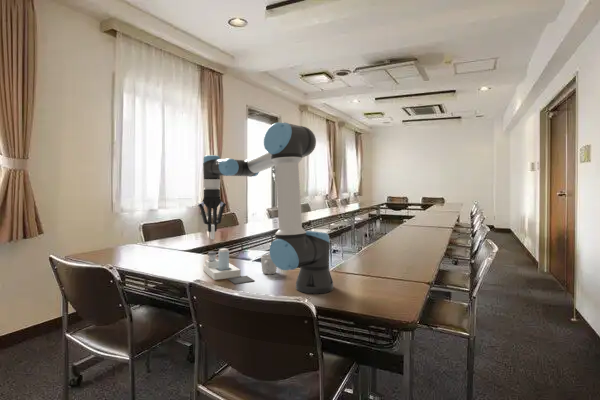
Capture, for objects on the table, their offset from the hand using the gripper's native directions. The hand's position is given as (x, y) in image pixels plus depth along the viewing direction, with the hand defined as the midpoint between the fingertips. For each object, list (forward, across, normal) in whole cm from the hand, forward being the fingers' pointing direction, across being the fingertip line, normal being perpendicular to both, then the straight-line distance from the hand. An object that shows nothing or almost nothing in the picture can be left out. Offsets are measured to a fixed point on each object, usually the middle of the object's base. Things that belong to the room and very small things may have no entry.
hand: (212, 238), depth 163 cm
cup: (+16, -22, +15) cm, 31 cm away
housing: (+16, -3, +4) cm, 17 cm away
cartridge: (+16, -3, +8) cm, 18 cm away
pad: (+16, -7, +19) cm, 26 cm away
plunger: (+12, 0, 0) cm, 12 cm away
